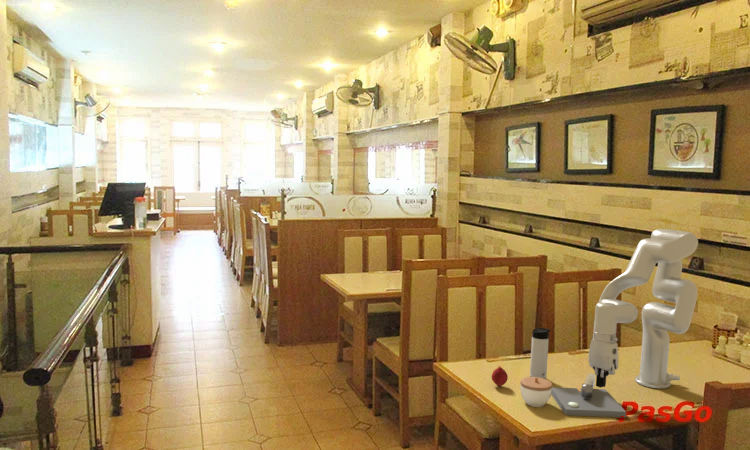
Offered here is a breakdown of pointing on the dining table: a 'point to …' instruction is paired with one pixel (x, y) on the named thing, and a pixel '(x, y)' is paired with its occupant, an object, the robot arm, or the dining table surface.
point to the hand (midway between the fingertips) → (600, 386)
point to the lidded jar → (535, 391)
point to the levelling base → (587, 403)
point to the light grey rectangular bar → (588, 386)
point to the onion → (499, 376)
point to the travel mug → (539, 353)
